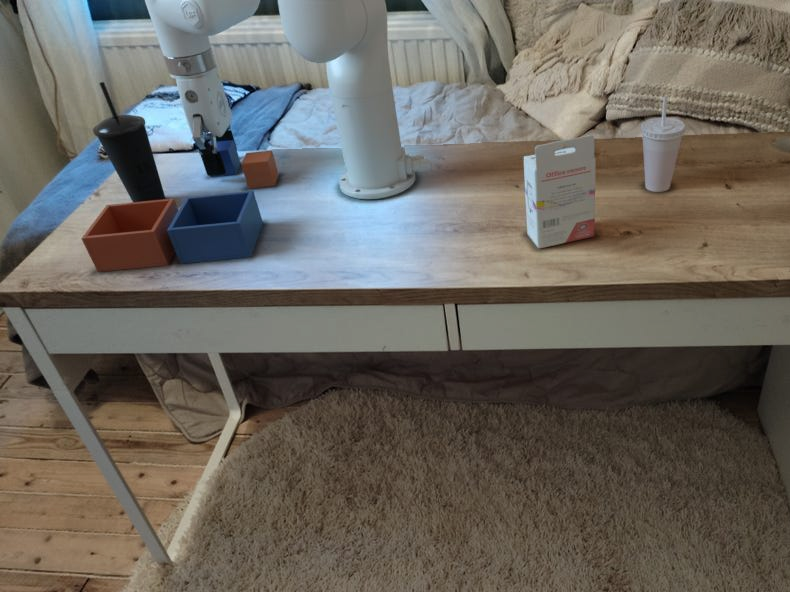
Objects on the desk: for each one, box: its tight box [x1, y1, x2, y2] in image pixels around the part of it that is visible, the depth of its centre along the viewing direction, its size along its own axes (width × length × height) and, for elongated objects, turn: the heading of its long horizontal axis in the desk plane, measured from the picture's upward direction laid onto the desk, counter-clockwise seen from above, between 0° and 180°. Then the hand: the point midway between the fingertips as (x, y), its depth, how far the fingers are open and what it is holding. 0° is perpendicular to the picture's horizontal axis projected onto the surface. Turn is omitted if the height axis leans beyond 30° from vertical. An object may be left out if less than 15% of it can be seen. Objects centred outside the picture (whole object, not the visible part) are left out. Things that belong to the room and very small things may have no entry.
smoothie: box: [639, 95, 686, 193], centre depth 105 cm, size 6×6×14 cm
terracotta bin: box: [81, 198, 179, 273], centre depth 104 cm, size 10×10×6 cm
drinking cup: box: [92, 81, 167, 202], centre depth 111 cm, size 8×8×20 cm
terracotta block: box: [240, 150, 280, 189], centre depth 120 cm, size 4×4×4 cm
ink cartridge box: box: [523, 134, 597, 249], centre depth 95 cm, size 9×5×15 cm, turn 106°
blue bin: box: [167, 190, 264, 265], centre depth 104 cm, size 10×10×6 cm
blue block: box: [208, 139, 242, 178], centre depth 125 cm, size 4×4×4 cm
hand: (223, 163), depth 126 cm, fingers open, 8 cm apart
